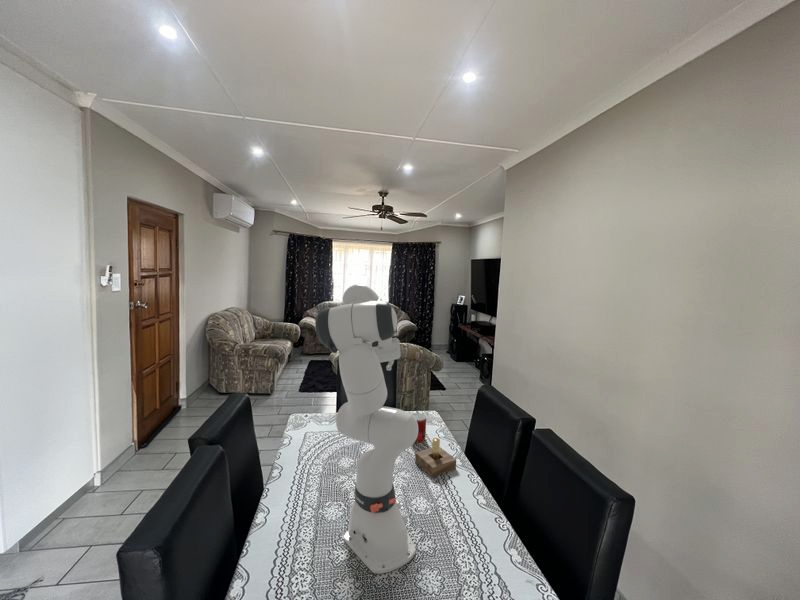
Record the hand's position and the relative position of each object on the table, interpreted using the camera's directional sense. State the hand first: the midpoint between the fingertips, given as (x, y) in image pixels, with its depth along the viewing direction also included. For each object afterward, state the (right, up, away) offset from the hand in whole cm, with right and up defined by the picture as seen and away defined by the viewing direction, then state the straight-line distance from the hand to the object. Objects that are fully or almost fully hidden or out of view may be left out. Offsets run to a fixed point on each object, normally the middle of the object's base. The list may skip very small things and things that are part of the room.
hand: (380, 372), depth 139 cm
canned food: (+17, -37, +20) cm, 45 cm away
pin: (+23, -37, -2) cm, 44 cm away
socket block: (+23, -38, -2) cm, 45 cm away
